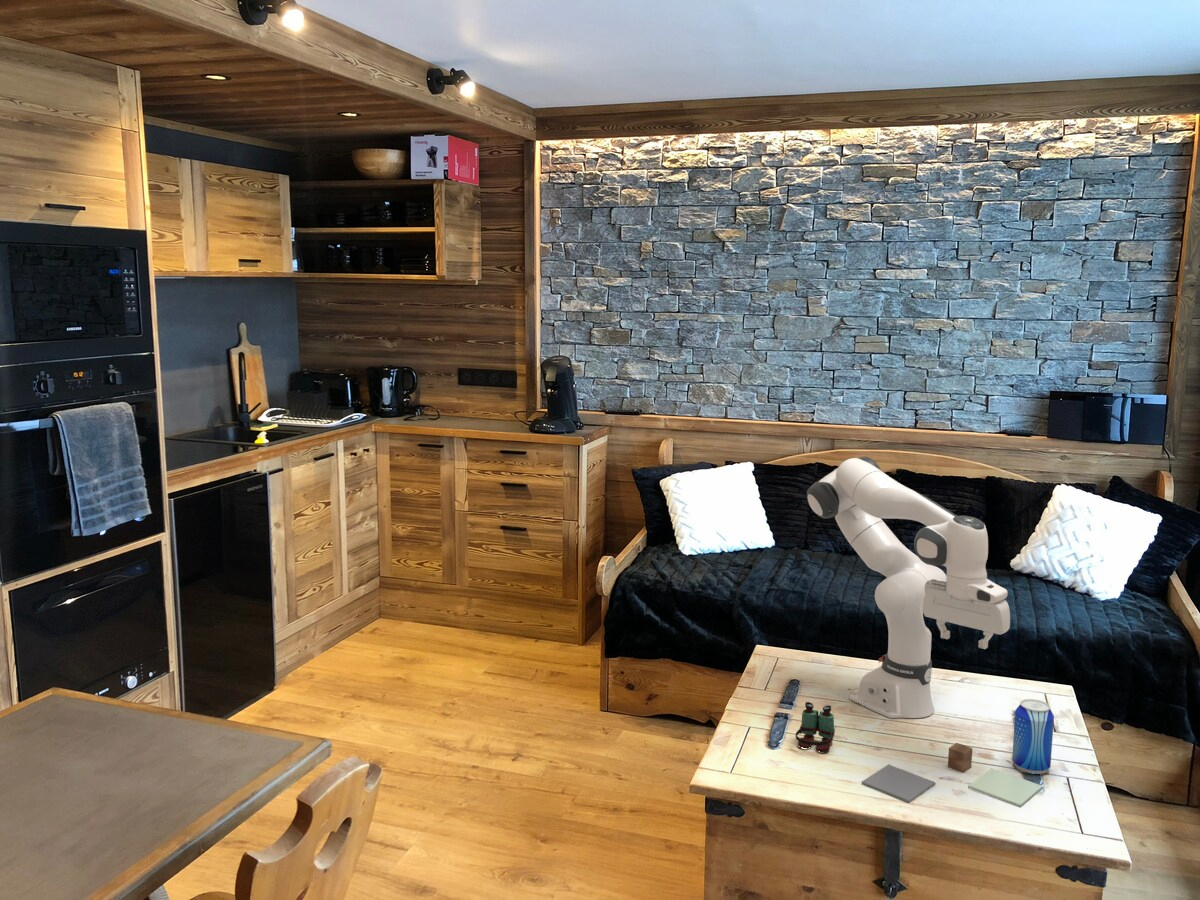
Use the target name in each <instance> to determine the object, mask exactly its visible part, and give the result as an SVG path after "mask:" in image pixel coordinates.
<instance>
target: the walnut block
mask: <svg viewBox="0 0 1200 900" xmlns="http://www.w3.org/2000/svg"><path fill="white" fill-rule="evenodd" d="M947 755H948V757H947V768H949V769H951V770H954V771H957V772H959V773H962V774H965V773H967V771H969V770H970V769H971V768H972V765H973V764H972V763H973V761H972V760H973V747H970V746H968V745H965V744H962V743H958V742H955V743H954V744H953V745H950V747H948V754H947Z"/></svg>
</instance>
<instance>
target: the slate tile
mask: <svg viewBox="0 0 1200 900" xmlns="http://www.w3.org/2000/svg"><path fill="white" fill-rule="evenodd" d="M863 784H864V786H865V785H866V787H868V788H871V789H873V790H876V791H878V792H881V793H883V794H886V795H888V796H891V797H892V798H896V799H898V800H900V801H903V802H905V803H908V804H910V803H912V802H913V801H915V800H916V799H917V798H919V797H920V796H921V795H922V794H924V793H926V792H927V791H928V790H929V789H931V788H932V787H934V786H935V785H936V781H934V780H930V779H928V778H925V777H923V776H920V775H917V774H915V773H913V772H909V771H907V770H904V769H902V768H899V767H896V766H894V765H891V764H887V765H885V766H884V767H882V768H880V769H879V770H877V771H876V772H875V773H873V774H871V775H869V776H868V777H867V778H864V779H863V780H862V781H861V785H863Z"/></svg>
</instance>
